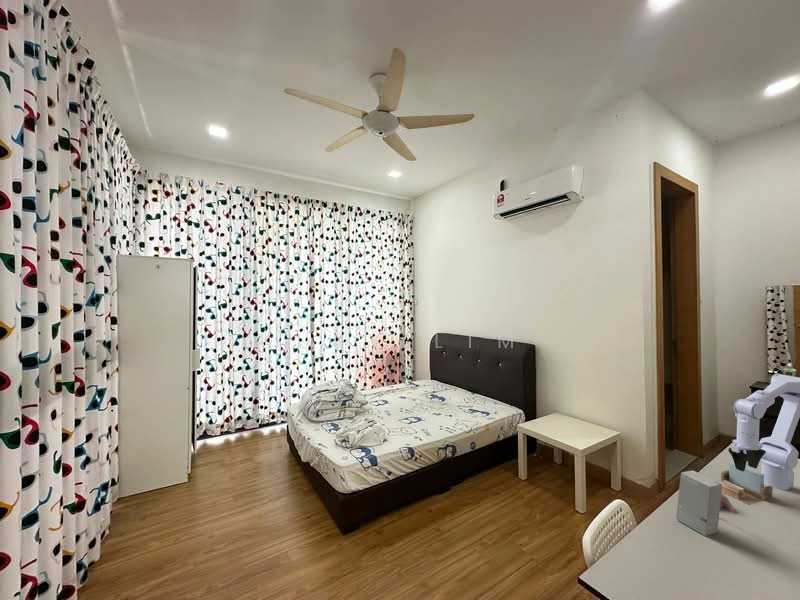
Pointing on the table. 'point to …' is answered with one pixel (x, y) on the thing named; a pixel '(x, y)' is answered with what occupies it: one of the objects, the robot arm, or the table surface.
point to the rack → (749, 491)
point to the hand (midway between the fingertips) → (746, 468)
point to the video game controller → (726, 504)
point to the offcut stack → (732, 490)
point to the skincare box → (699, 502)
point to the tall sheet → (746, 478)
